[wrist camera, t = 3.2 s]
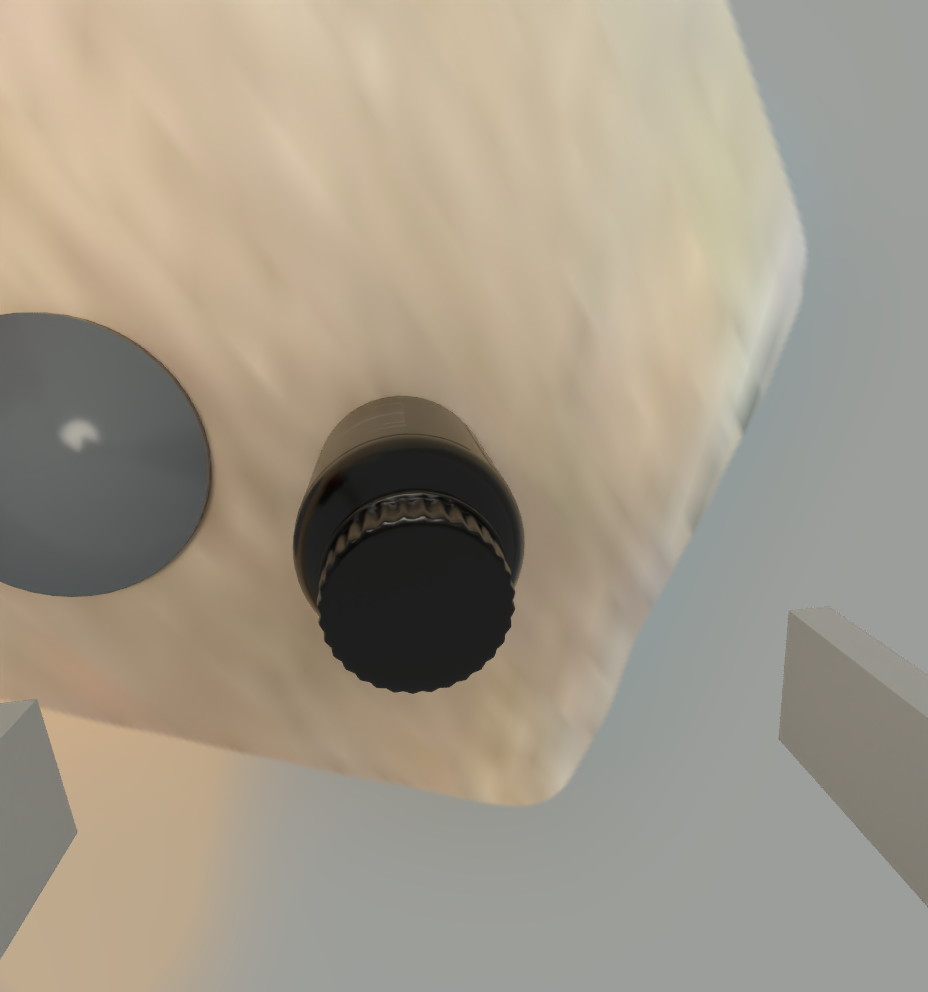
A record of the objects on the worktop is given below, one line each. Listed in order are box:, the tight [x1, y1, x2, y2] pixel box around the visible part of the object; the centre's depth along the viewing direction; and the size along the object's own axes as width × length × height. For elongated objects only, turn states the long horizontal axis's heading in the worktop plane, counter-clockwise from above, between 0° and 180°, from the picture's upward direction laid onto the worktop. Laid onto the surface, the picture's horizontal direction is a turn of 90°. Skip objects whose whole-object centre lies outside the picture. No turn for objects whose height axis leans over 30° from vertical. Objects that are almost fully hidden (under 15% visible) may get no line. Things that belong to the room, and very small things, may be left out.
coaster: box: [0, 313, 211, 597], centre depth 25 cm, size 11×11×1 cm
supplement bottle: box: [293, 396, 525, 694], centre depth 21 cm, size 7×7×12 cm
